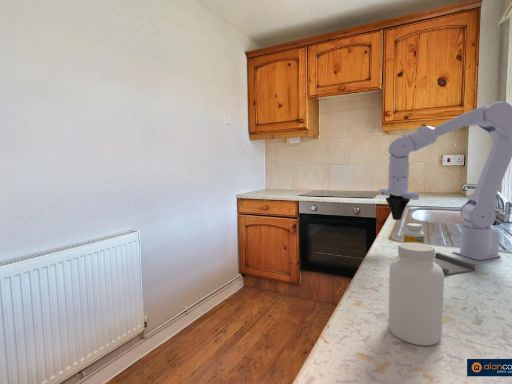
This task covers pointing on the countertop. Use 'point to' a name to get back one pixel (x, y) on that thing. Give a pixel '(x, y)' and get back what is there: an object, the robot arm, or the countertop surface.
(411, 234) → the supplement bottle
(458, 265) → the stand
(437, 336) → the pill bottle
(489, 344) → the countertop surface
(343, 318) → the countertop surface
